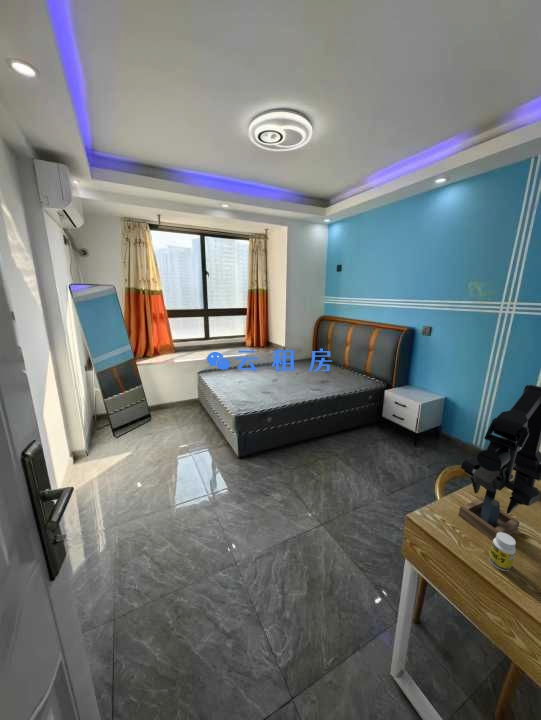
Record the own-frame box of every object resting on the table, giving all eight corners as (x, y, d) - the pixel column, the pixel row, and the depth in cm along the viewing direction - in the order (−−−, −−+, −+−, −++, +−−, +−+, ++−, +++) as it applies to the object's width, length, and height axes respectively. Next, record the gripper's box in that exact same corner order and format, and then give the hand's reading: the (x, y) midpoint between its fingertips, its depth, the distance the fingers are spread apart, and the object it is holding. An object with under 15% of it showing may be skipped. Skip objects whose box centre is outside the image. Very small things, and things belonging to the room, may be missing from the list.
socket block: (480, 505, 98) (481, 497, 97) (517, 529, 88) (519, 521, 87) (458, 515, 94) (459, 507, 93) (495, 542, 84) (497, 533, 83)
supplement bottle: (484, 558, 79) (490, 533, 77) (495, 552, 81) (502, 528, 78) (503, 574, 75) (510, 548, 72) (515, 568, 76) (522, 542, 74)
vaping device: (487, 514, 93) (494, 482, 90) (497, 527, 88) (505, 494, 85) (478, 513, 93) (485, 482, 90) (488, 527, 88) (496, 494, 85)
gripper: (453, 448, 90) (445, 490, 94) (523, 485, 73) (510, 534, 78) (476, 440, 94) (467, 481, 98) (547, 474, 78) (533, 521, 82)
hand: (491, 502), depth 89 cm, fingers open, 9 cm apart
